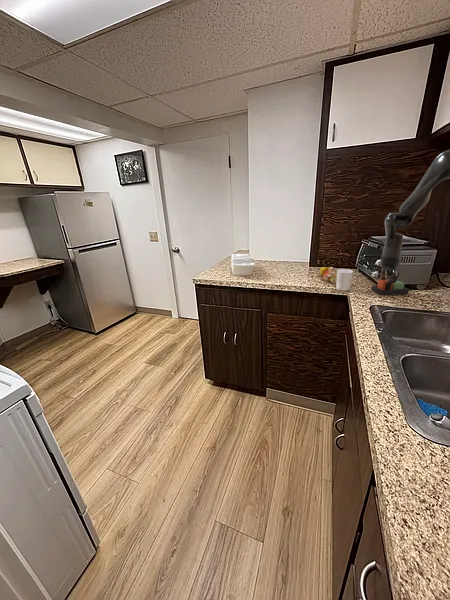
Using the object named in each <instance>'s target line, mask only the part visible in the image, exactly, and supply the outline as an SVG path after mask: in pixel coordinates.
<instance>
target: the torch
mask: <svg viewBox="0 0 450 600" xmlns="http://www.w3.org/2000/svg"><path fill="white" fill-rule="evenodd" d="M334 269H335V267H333V266H322V267H320V269H319V273H320V276H321V277H322V279H323V280H324V281H327V282H330V283H332V284H334V285H336V279H337V271H335V270H334Z"/></svg>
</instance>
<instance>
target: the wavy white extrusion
mask: <svg viewBox="0 0 450 600" xmlns="http://www.w3.org/2000/svg"><path fill="white" fill-rule="evenodd" d="M254 260H255V257H254V256H252V255H251V254H250V253H231V257H230V261H231V262H230V268H231V273H232V275H233V276H251V275H252V273H253V271H254V268H255V265H256V263H255V262H254Z"/></svg>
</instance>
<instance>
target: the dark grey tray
mask: <svg viewBox="0 0 450 600" xmlns="http://www.w3.org/2000/svg"><path fill="white" fill-rule="evenodd" d="M377 285H378V284H377ZM377 285H376V284H375V285H371V289H370V290H371V291H372V292H374V293H375V294H377V295H379V296H393V295H395V296H397V295H409V292H410V288H407V287H405V286H404V289H395V290H381V289H379V288H377Z"/></svg>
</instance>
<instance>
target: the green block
mask: <svg viewBox="0 0 450 600" xmlns="http://www.w3.org/2000/svg"><path fill="white" fill-rule="evenodd" d="M405 284H406V283H405V282H403V281H400V280H396V282H395V283H393V287H392V290H395V289H404V287H405Z"/></svg>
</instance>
